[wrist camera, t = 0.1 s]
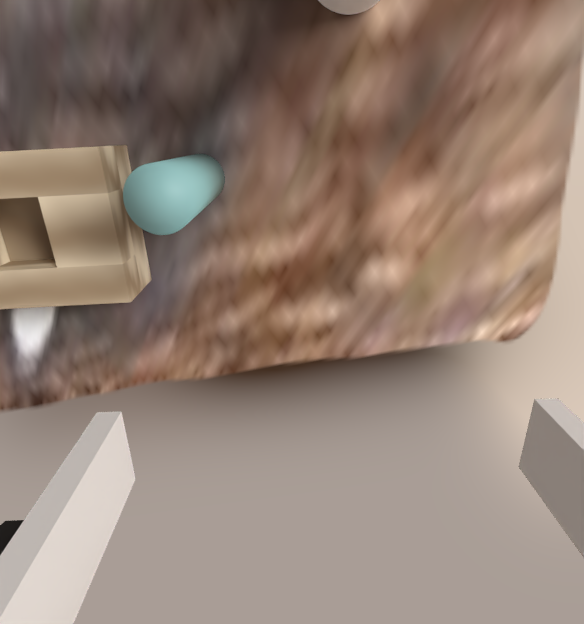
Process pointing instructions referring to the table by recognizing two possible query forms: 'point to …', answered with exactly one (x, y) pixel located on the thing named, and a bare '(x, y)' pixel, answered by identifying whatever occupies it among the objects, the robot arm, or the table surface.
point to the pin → (172, 192)
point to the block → (68, 229)
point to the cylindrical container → (348, 5)
